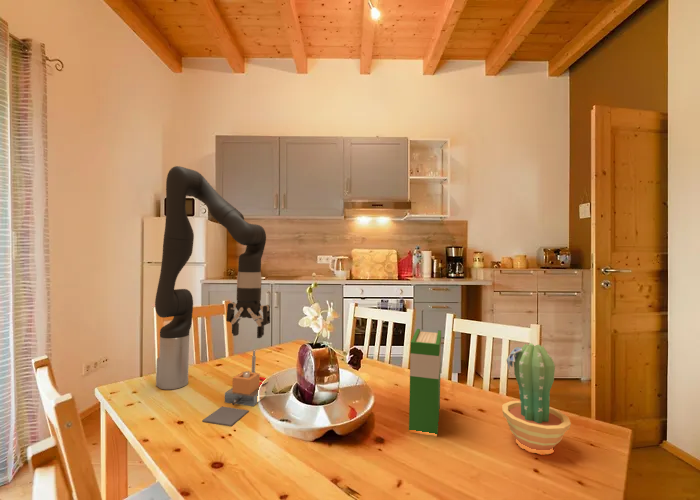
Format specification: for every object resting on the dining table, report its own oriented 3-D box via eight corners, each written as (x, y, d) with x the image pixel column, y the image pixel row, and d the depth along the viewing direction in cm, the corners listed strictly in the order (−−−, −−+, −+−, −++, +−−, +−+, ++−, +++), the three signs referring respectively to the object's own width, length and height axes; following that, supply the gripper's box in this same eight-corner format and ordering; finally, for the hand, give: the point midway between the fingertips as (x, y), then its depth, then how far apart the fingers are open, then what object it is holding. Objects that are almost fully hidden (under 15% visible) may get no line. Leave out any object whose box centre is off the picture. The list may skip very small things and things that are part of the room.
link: (232, 392, 108) (232, 377, 108) (242, 385, 114) (243, 371, 114) (249, 394, 106) (249, 379, 107) (259, 387, 112) (259, 373, 112)
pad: (202, 421, 95) (202, 420, 95) (222, 407, 104) (222, 406, 104) (231, 426, 93) (231, 424, 93) (248, 411, 101) (248, 410, 101)
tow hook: (246, 379, 128) (239, 388, 119) (248, 344, 129) (241, 350, 120) (269, 380, 128) (264, 388, 119) (271, 344, 129) (265, 350, 120)
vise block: (218, 406, 105) (219, 378, 105) (238, 392, 115) (239, 366, 115) (248, 410, 102) (249, 381, 102) (266, 396, 113) (266, 370, 113)
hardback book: (415, 404, 109) (417, 328, 109) (439, 408, 107) (441, 330, 107) (408, 432, 92) (410, 342, 92) (437, 437, 90) (439, 344, 90)
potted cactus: (530, 425, 97) (532, 336, 97) (585, 456, 82) (587, 351, 83) (487, 435, 91) (489, 340, 92) (538, 469, 77) (540, 357, 77)
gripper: (222, 285, 109) (221, 337, 109) (263, 288, 105) (262, 341, 105) (235, 283, 116) (234, 332, 116) (274, 286, 113) (273, 335, 112)
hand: (247, 336), depth 110 cm, fingers open, 8 cm apart
